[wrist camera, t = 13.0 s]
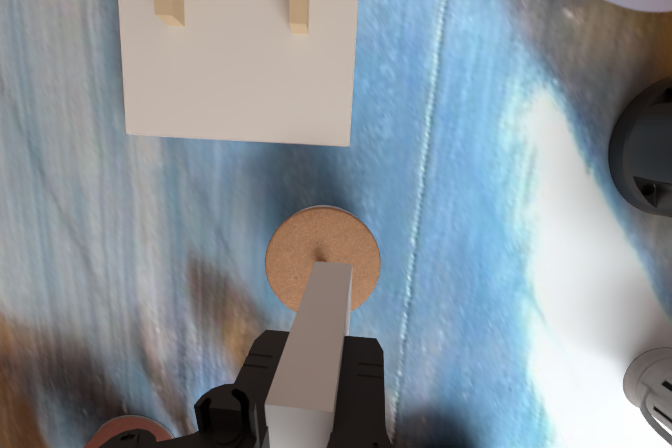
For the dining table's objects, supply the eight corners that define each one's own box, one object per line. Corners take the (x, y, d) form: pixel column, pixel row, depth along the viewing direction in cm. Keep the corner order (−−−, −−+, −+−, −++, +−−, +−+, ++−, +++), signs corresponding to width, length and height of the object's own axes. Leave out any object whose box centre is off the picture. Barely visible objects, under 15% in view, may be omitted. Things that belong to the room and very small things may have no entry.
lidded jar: (266, 211, 38) (245, 228, 29) (358, 187, 38) (367, 196, 28) (292, 298, 40) (280, 340, 31) (380, 276, 40) (395, 311, 30)
